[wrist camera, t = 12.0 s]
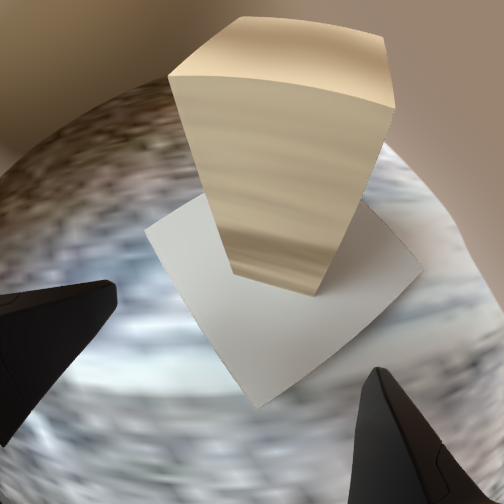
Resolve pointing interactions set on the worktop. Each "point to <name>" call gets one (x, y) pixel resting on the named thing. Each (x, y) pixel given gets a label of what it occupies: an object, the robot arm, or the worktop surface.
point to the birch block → (284, 139)
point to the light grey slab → (280, 297)
